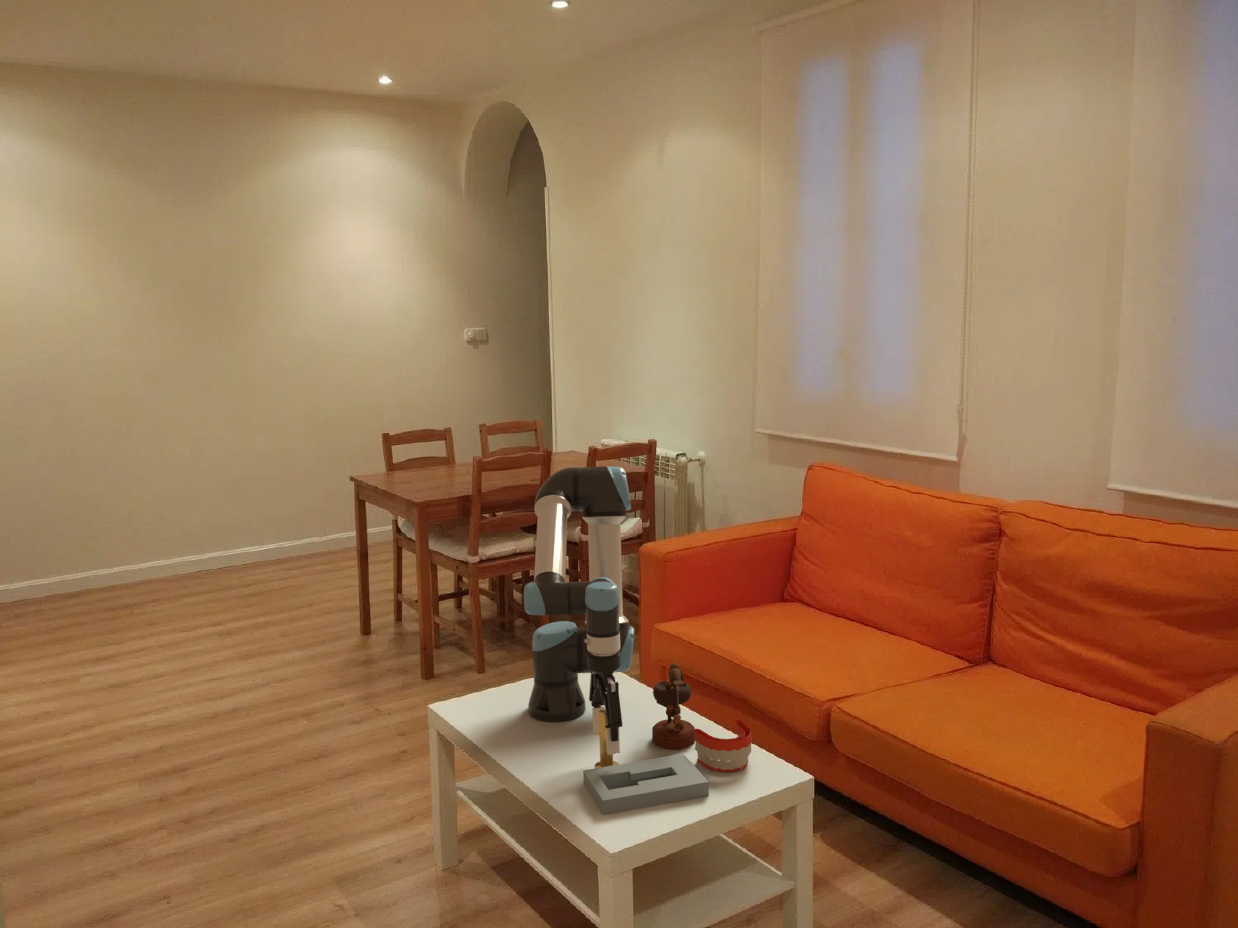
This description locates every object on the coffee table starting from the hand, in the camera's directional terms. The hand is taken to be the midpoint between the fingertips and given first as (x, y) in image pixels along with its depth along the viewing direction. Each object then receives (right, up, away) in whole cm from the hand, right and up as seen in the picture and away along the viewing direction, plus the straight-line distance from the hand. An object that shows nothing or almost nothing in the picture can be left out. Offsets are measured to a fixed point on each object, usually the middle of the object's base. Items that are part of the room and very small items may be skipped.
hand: (606, 743), depth 233 cm
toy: (+28, -6, +2) cm, 29 cm away
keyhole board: (+9, -8, -9) cm, 15 cm away
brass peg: (0, -6, +1) cm, 6 cm away
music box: (+16, -4, +16) cm, 23 cm away
